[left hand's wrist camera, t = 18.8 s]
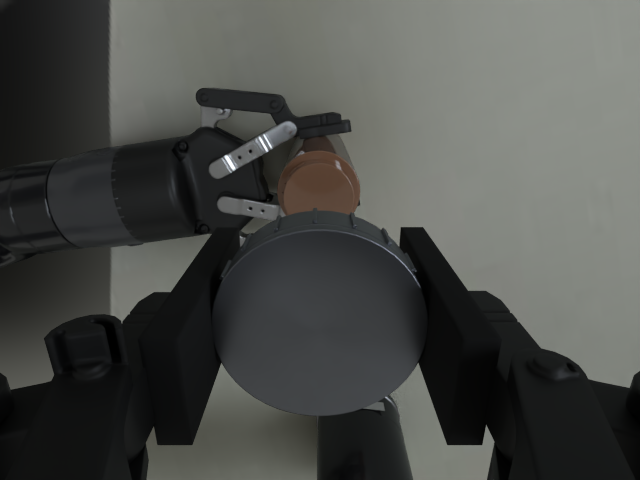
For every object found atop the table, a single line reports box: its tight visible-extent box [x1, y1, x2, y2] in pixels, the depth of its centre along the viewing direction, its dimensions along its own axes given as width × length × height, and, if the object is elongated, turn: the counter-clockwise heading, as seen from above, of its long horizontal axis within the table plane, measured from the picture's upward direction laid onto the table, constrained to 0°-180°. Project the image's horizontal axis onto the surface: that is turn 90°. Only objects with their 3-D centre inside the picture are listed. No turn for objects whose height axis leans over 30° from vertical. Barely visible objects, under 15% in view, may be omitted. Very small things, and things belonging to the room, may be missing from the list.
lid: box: [211, 208, 428, 416], centre depth 11 cm, size 6×6×2 cm
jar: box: [277, 134, 360, 216], centre depth 30 cm, size 5×5×15 cm
